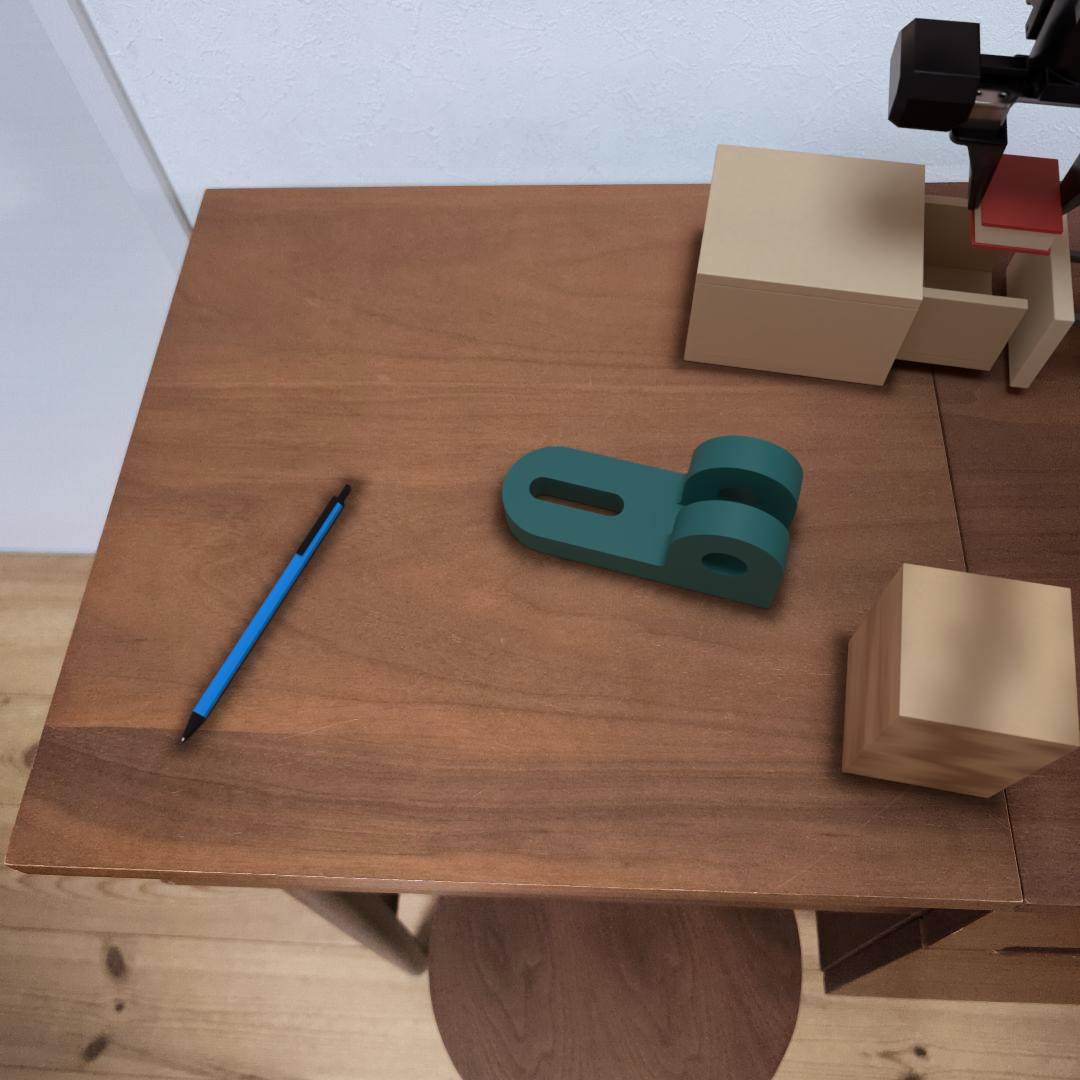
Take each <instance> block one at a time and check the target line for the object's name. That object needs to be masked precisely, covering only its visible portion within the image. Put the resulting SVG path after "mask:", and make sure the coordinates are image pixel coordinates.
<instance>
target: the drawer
mask: <svg viewBox="0 0 1080 1080" xmlns="http://www.w3.org/2000/svg"><path fill="white" fill-rule="evenodd" d="M1062 218H1063V233H1062V234H1061V235H1059V234H1058V235H1057V236H1056V238H1055V240H1054V241H1053V243H1052V245H1051V246H1050V254H1049V256H1044V255H1035V254H1026V253H1017V252H1014V254H1013V256H1012V258H1011V259H1010V261H1009V263H1008V265H1007V267H1006V269H1005V276H1006V278H1005V280H1006V281H1005V282H1006V283H1005V284H1006V296H1002V295H993V281H992V280H993V277H992V276H993V275H992V273H993V271H994V270H995V267H996V265H997V263H998V262H999V259H1000V258H1001V256H1002V254H1003V252H1004V251H1000V250H991V249H982V248H973V247H971V233H970V210H968V198H966V197H954V196H946V195H945V196H944V195H937V194H935V195H934V194H926V193H925V207H924V262H923V300H922V302H921V304H920V307H919V308H918V311H917V313H916V316H915V318H914V320H913V322H912V324H911V326H910V328H909V330H908V333H907V335H906V337H905V339H904V341H903V343H902V345H901V347H900V350H899V352H898V354H897V356H896V358H895V360H901V361H907V362H916V363H922V364H923V363H924V364H931V365H940V366H948V367H956V368H963V369H972V370H979V371H986V372H987V371H988V372H989V371H991V369H992V368H993V366H994V364H995V363H996V361H997V360H998V359H999V356H1000V354H1001V353H1002V351H1003V350H1004V348H1005V347H1006V345H1007V344H1008V365H1009V367H1008V368H1009V386H1010V387H1013V388H1020V389H1028V388H1029V387H1031V384H1032V383H1033V381H1035V379H1036V377H1037V376H1038V374H1039V373H1040V372H1041V370H1042V369H1043V367H1044V366H1045V364H1047V362H1048V360H1049V359H1050V358H1051V356H1052V354H1054V352H1055V350H1056V349H1057V348H1058V346H1059V344H1060V343H1061V342H1062V340H1063V339H1064V337H1065V336H1066V334H1067V333H1068V331H1069V330H1070V328H1071V327H1077V328H1078V327H1080V312H1079V313H1077V312H1075V307H1074V294H1073V282H1072V281H1073V279H1072V267H1071V266H1072V265H1071V263H1073V264H1080V250H1075V249H1070V240H1069V238H1070V237H1069V226H1068V213H1066V214H1065V215H1063V216H1062Z"/></svg>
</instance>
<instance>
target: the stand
mask: <svg viewBox="0 0 1080 1080" xmlns="http://www.w3.org/2000/svg"><path fill="white" fill-rule="evenodd" d="M1071 590H1072V589H1071V588H1070V587H1064V586H1057V585H1051V584H1044V583H1038V582H1030V581H1026V580H1018V579H1011V578H1005V577H999V576H992V575H985V574H978V573H974V572H973V573H972V572H967V571H959V570H953V569H947V568H938V567H932V566H926V565H919V564H913V563H907V562H903V563H902V564H901V566H900V568H899V569H898V570H897V572H896V573H895V574H894V576H893V577H892V579H891V580H890V581H889V583H888V584H887V586H886V587H885V589H884V590H883V592H882V593H881V595H880V596H879V597H878V599H877V600H876V602H875V603H874V605H873V606H872V607H871V609H870V610H869V612H868V613H867V615H866V616H865V618H864V619H863V620H862V622H861V623H860V625H859V626H858V628H857V629H856V630H855V632H854V633H853V635H852V637H851V638H850V639H849V641H848V643H847V644H848V645H847V662H846V681H845V683H846V684H845V698H844V699H845V701H844V718H843V719H844V720H843V739H842V759H841V772H842V773H846V774H851V775H857V776H862V777H869V778H874V779H879V780H884V781H889V782H890V781H891V782H894V783H895V782H897V783H902V784H908V785H913V786H917V787H923V788H929V789H934V790H939V791H946V792H950V793H951V792H952V793H956V794H962V795H968V796H973V797H979V798H985V799H989V798H991V797H993V796H995V795H996V794H998V793H1000V792H1002V791H1003V790H1005V789H1007V788H1009V787H1011V786H1013V785H1014V784H1016V783H1018V782H1020V781H1022V780H1023V779H1025V778H1026V777H1029V776H1030V775H1032V774H1034V773H1035V772H1037V771H1040V770H1041V769H1042V768H1045V767H1046V766H1048V765H1050V764H1052V763H1053V762H1055V761H1057V760H1059V759H1061V758H1063V757H1064V756H1066V755H1067V754H1070V753H1072V752H1073V751H1075V750H1076V749H1078V748H1080V720H1079V719H1080V718H1079V703H1078V688H1077V686H1078V685H1077V672H1076V671H1077V670H1076V669H1077V668H1076V657H1075V656H1076V655H1075V640H1074V639H1075V637H1074V621H1073V606H1072V591H1071Z"/></svg>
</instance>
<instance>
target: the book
mask: <svg viewBox="0 0 1080 1080" xmlns="http://www.w3.org/2000/svg"><path fill="white" fill-rule="evenodd" d="M1059 163H1060V162H1059V159H1058V158H1049V157H1041V156H1031V155H1030V156H1028V155H1022V154H1021V155H1020V154H1011V153H1009V154H1008V153H1003V155H1002V158H1001V160H1000V162H999V164H998V166H997V169H996V171H995V173H994V175H993V178H992V180H991V182H990V184H989V187H988V189H987V191H986V193H985V196H984V198H983V199H982V200H981V202H980V204H979V205H978V206H977V208H976V209H975V210H974V211H973V210H970V233H971V247H973V248H982V249H991V250H1000V251H1003V252H1008V253H1015V252H1017V253H1026V254H1035V255H1044V256H1049V254H1050V246H1051V245H1052V243H1053V241H1054V240H1055V238H1056V236H1057V235H1058V234H1059V235H1061V234H1062V233H1063V218H1062V207H1061V199H1060V183H1061V177H1060V165H1059Z"/></svg>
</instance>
